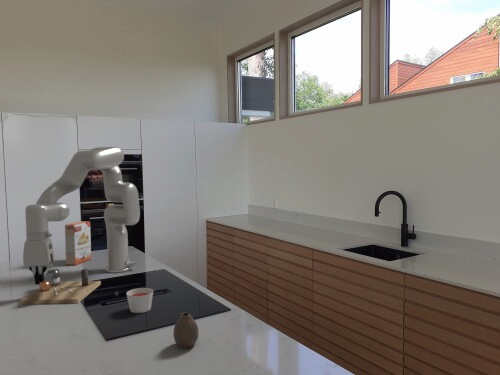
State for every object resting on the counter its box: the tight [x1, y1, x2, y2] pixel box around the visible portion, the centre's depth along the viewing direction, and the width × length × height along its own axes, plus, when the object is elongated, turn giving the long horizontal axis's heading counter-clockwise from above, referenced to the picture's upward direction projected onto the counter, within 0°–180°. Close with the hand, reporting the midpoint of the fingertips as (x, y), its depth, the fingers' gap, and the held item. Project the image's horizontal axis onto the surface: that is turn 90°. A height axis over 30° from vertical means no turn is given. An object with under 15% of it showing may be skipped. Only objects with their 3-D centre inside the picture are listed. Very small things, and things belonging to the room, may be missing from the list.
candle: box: [126, 287, 154, 314], centre depth 138 cm, size 9×9×6 cm
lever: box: [39, 268, 60, 292], centre depth 156 cm, size 22×4×3 cm, turn 18°
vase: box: [172, 312, 199, 349], centre depth 110 cm, size 7×7×9 cm
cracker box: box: [64, 220, 92, 266], centre depth 209 cm, size 14×6×21 cm, turn 168°
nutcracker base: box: [19, 268, 102, 305], centre depth 157 cm, size 21×23×8 cm
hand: (39, 283), depth 153 cm, fingers closed
